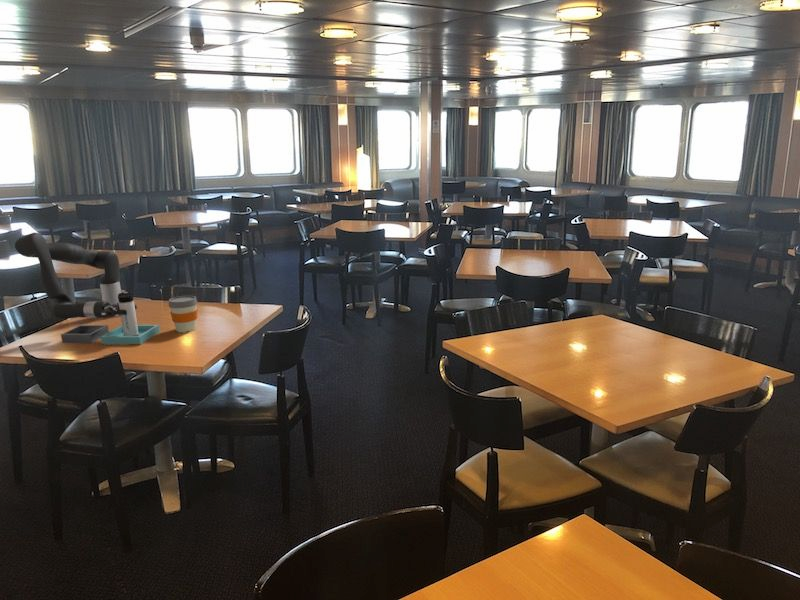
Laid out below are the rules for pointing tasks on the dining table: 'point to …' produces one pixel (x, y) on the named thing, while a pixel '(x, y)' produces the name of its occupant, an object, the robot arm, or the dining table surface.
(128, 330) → the travel mug
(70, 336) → the gray tray
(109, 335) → the teal tray
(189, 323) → the reusable coffee cup
